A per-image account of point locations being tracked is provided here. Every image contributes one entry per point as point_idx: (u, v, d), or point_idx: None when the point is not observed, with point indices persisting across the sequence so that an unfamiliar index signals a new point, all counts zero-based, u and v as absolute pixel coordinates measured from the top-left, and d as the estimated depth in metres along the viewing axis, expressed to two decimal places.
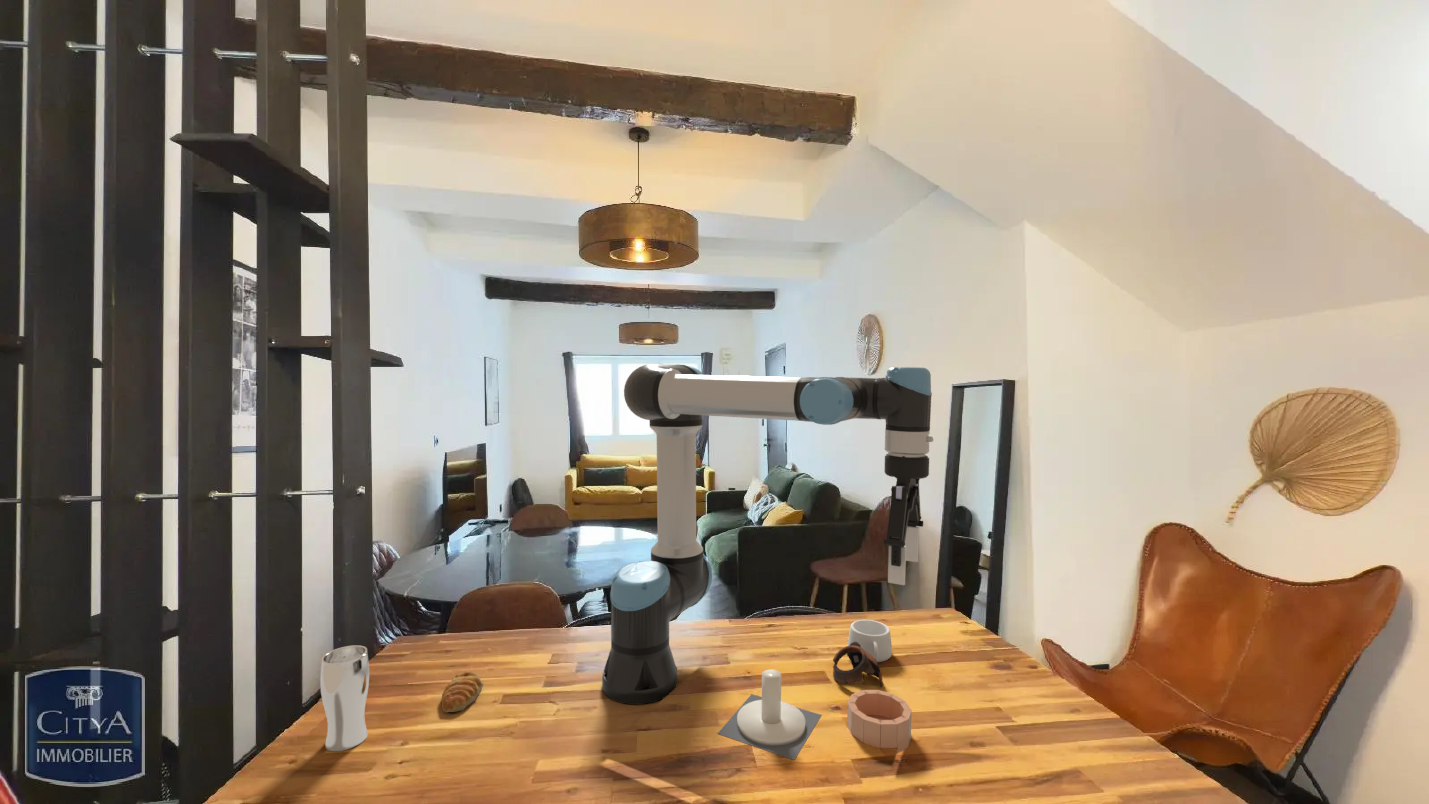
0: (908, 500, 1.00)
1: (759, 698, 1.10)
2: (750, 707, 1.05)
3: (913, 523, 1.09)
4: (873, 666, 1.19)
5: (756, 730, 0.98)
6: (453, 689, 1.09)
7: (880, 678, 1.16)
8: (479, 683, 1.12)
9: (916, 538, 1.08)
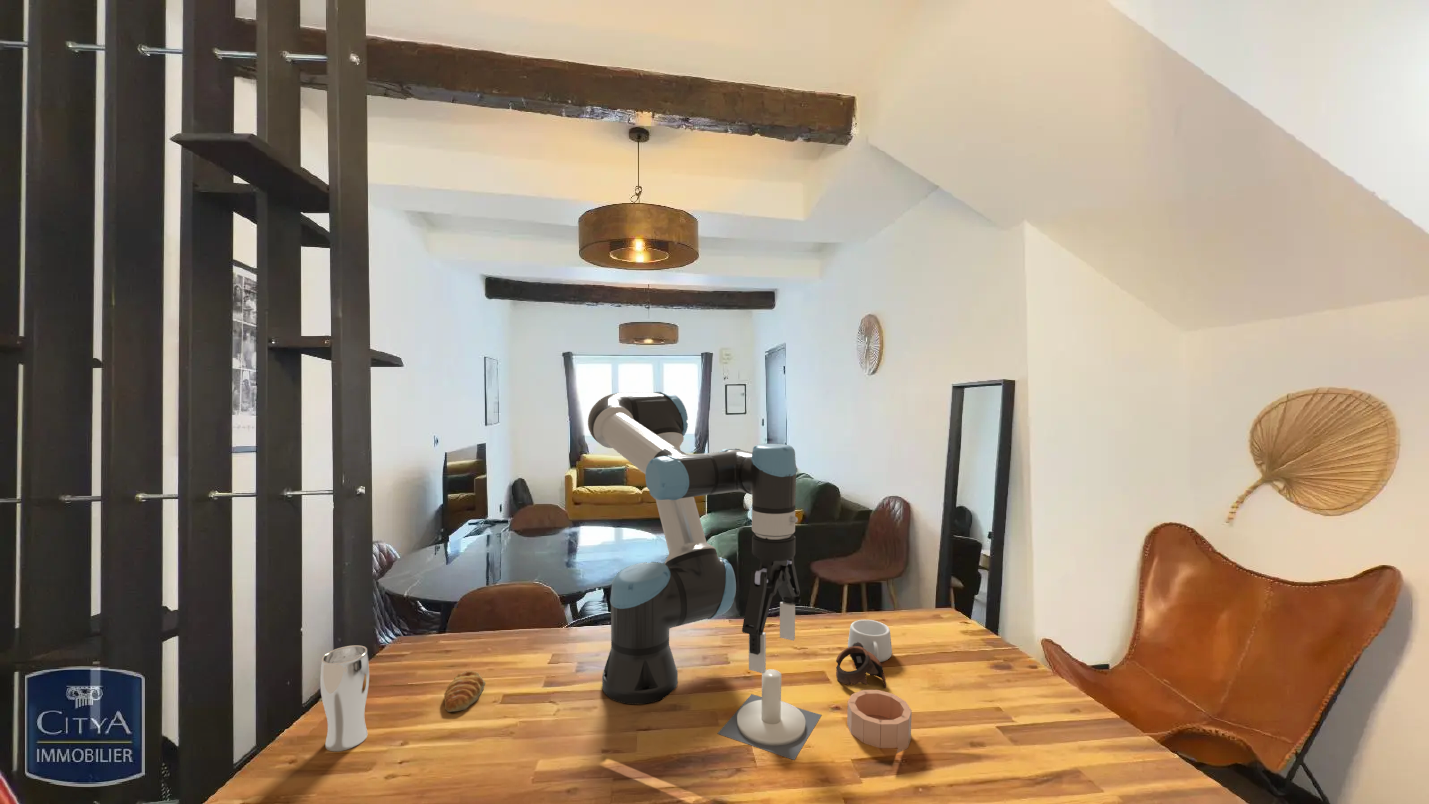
0: (772, 583, 0.98)
1: (759, 698, 1.10)
2: (750, 707, 1.05)
3: (789, 600, 1.07)
4: (876, 667, 1.18)
5: (756, 730, 0.98)
6: (455, 689, 1.09)
7: (883, 679, 1.16)
8: (481, 682, 1.13)
9: (792, 616, 1.06)
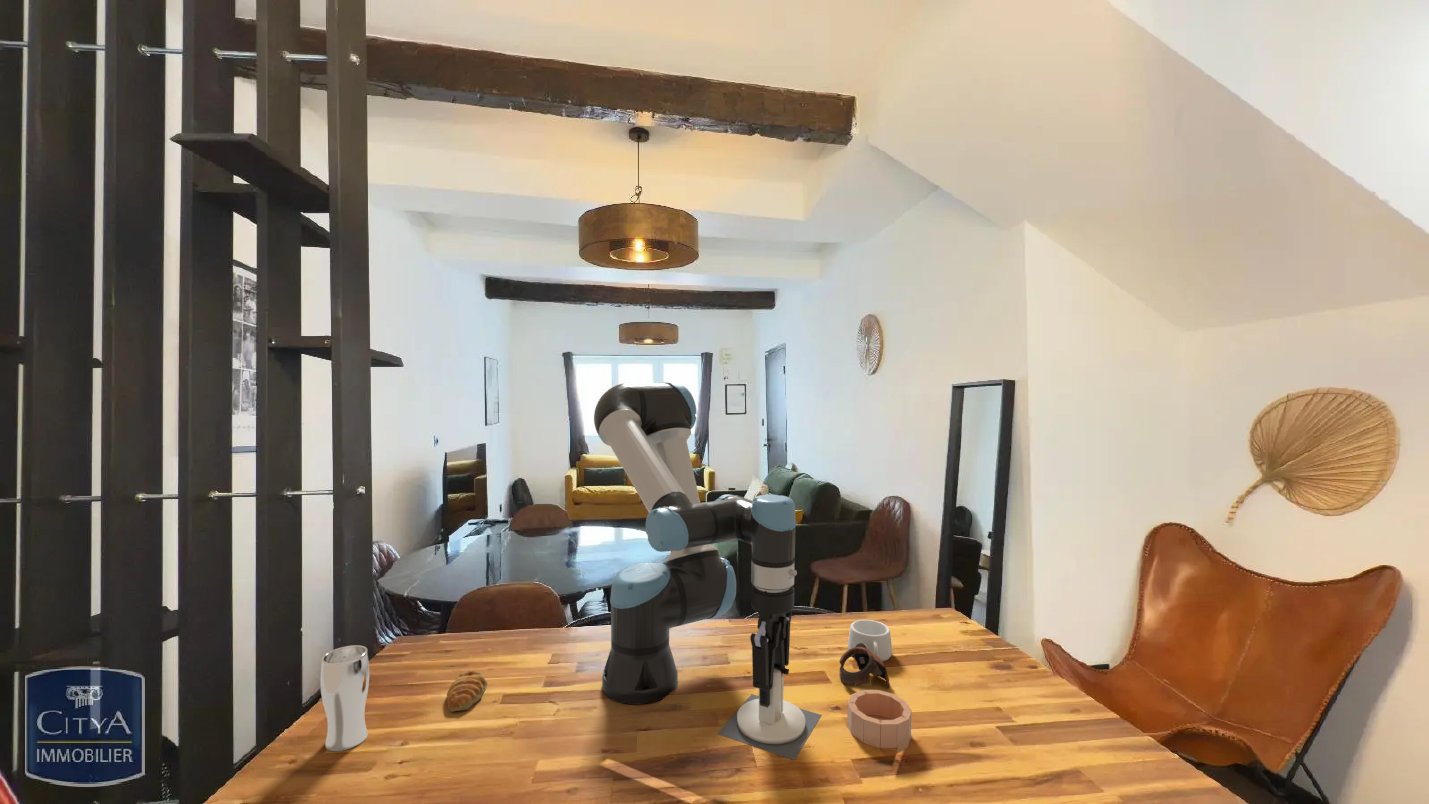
0: (772, 637, 0.99)
1: None
2: (750, 705, 1.05)
3: (778, 669, 1.03)
4: (879, 667, 1.18)
5: (756, 728, 0.98)
6: (458, 688, 1.09)
7: (887, 679, 1.15)
8: (484, 682, 1.13)
9: None
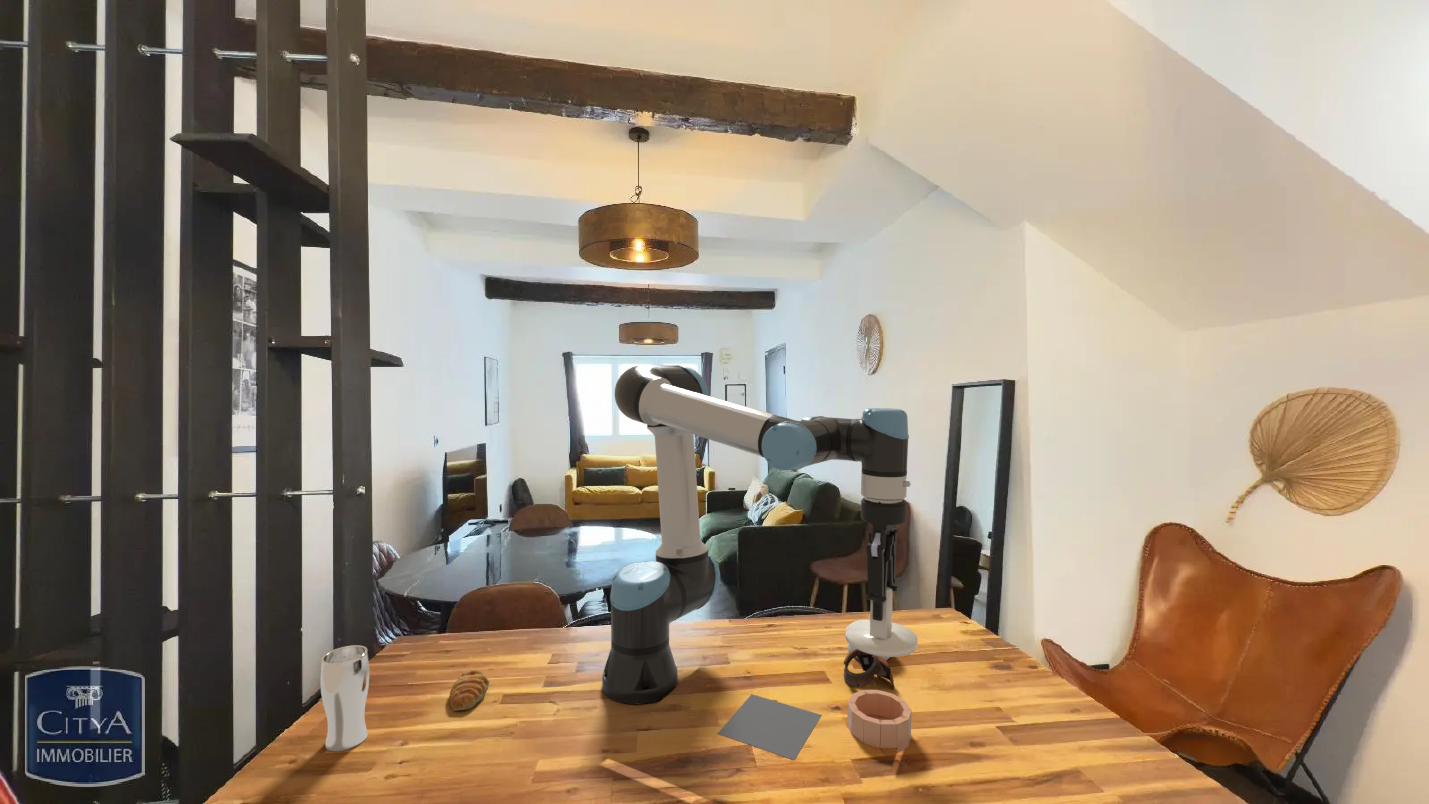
0: None
1: (759, 698, 1.10)
2: (856, 625, 1.03)
3: (886, 586, 1.02)
4: (884, 668, 1.18)
5: (869, 643, 0.97)
6: (461, 688, 1.09)
7: (891, 680, 1.15)
8: (486, 681, 1.13)
9: None
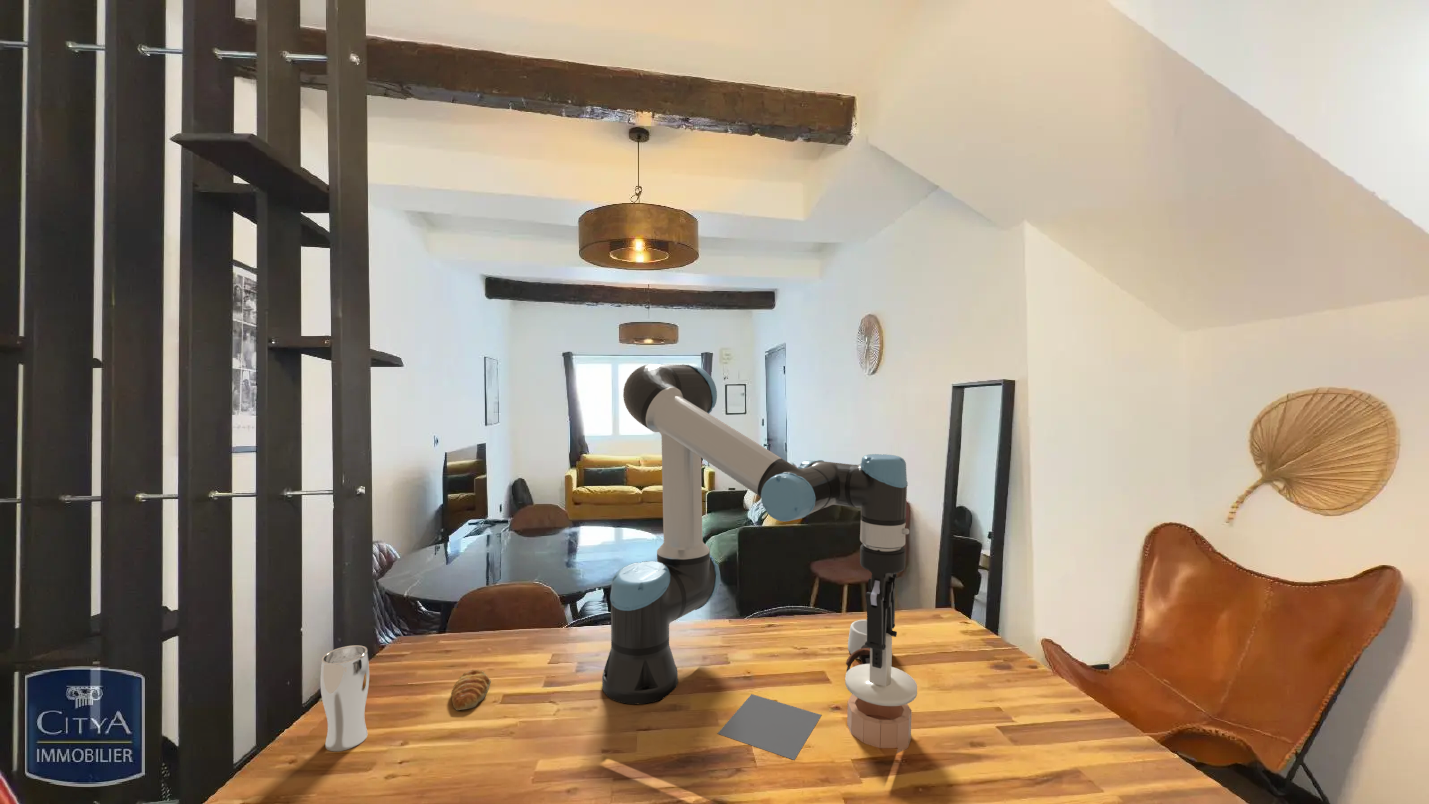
0: None
1: (759, 698, 1.10)
2: (856, 670, 1.04)
3: (886, 631, 1.02)
4: None
5: (869, 691, 0.97)
6: (463, 687, 1.10)
7: None
8: (488, 680, 1.13)
9: None
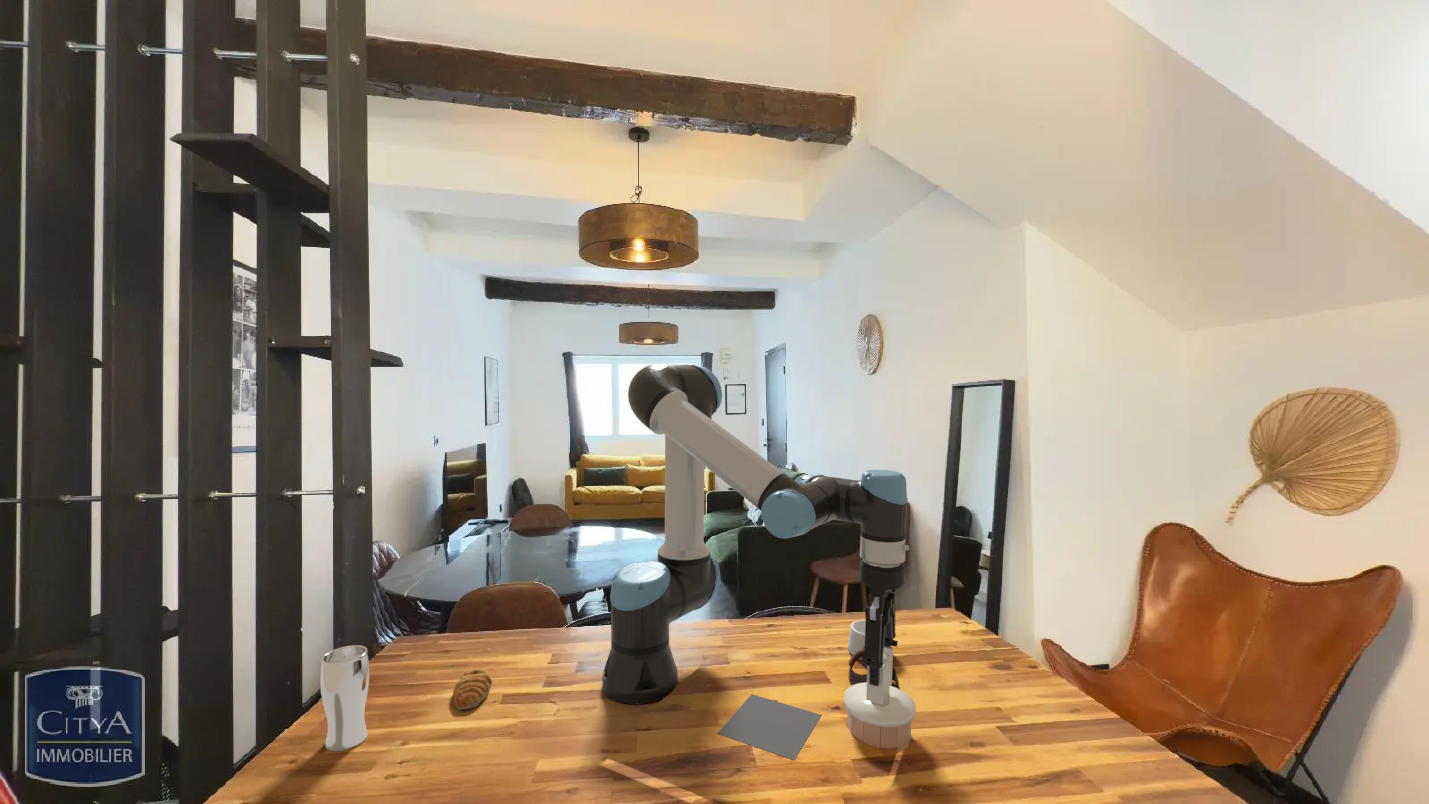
0: (884, 613, 0.97)
1: (759, 698, 1.10)
2: (855, 689, 1.04)
3: (887, 641, 1.03)
4: None
5: (867, 712, 0.97)
6: (464, 687, 1.10)
7: (896, 681, 1.15)
8: (489, 680, 1.13)
9: (890, 659, 1.02)
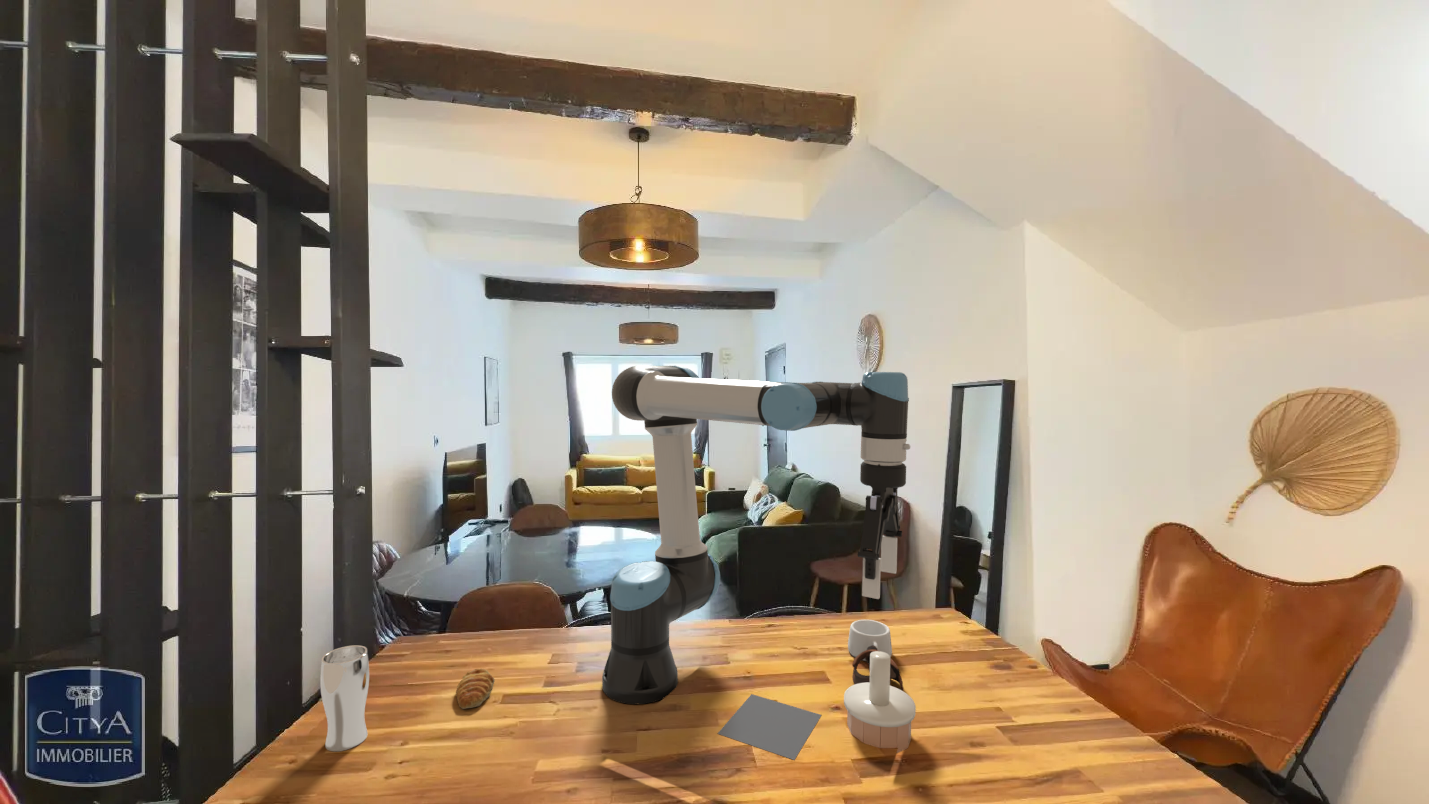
0: (884, 510, 0.96)
1: (759, 698, 1.10)
2: (855, 689, 1.04)
3: (891, 533, 1.05)
4: (892, 670, 1.17)
5: (867, 712, 0.97)
6: (467, 686, 1.10)
7: (901, 682, 1.14)
8: (492, 679, 1.14)
9: (894, 549, 1.05)
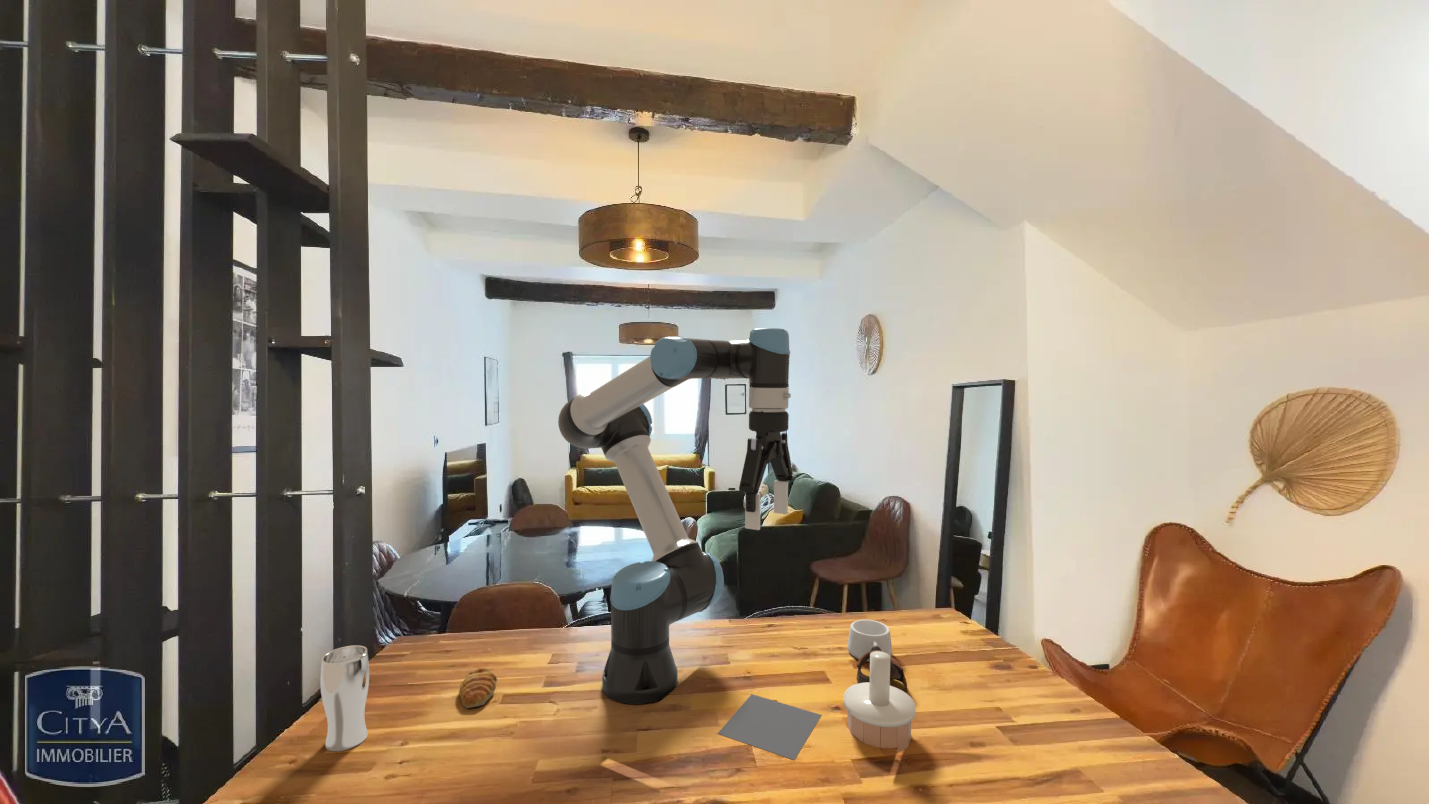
0: (766, 452, 1.07)
1: (759, 698, 1.10)
2: (855, 689, 1.04)
3: (783, 478, 1.16)
4: (896, 670, 1.17)
5: (867, 712, 0.97)
6: (471, 685, 1.10)
7: (905, 683, 1.14)
8: (495, 678, 1.14)
9: (785, 491, 1.15)
